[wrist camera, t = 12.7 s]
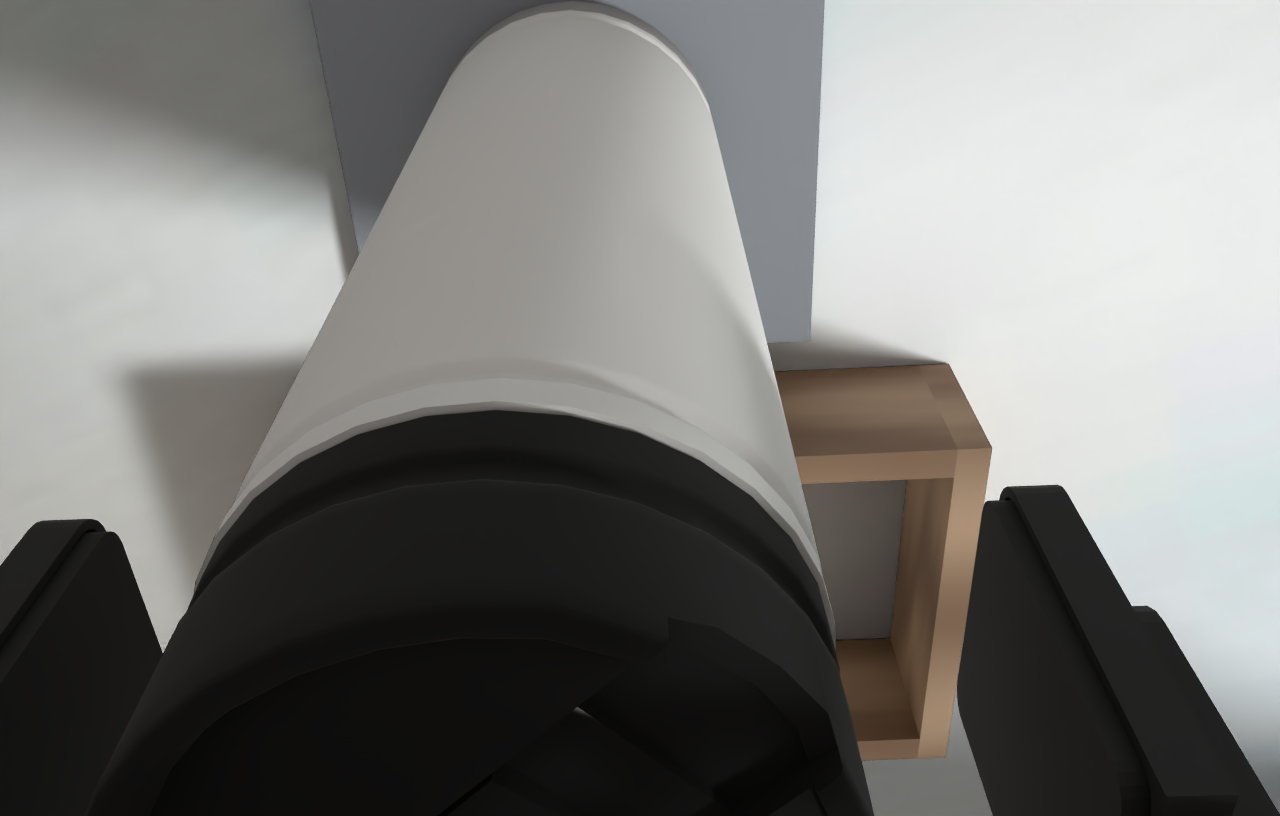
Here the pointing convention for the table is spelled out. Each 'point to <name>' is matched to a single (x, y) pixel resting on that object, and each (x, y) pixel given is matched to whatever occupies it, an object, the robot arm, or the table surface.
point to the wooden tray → (930, 537)
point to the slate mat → (703, 32)
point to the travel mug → (520, 494)
